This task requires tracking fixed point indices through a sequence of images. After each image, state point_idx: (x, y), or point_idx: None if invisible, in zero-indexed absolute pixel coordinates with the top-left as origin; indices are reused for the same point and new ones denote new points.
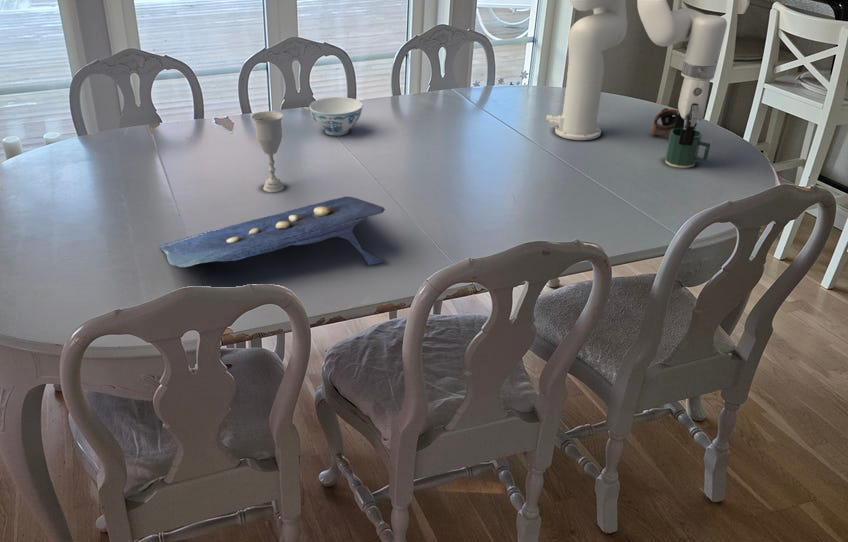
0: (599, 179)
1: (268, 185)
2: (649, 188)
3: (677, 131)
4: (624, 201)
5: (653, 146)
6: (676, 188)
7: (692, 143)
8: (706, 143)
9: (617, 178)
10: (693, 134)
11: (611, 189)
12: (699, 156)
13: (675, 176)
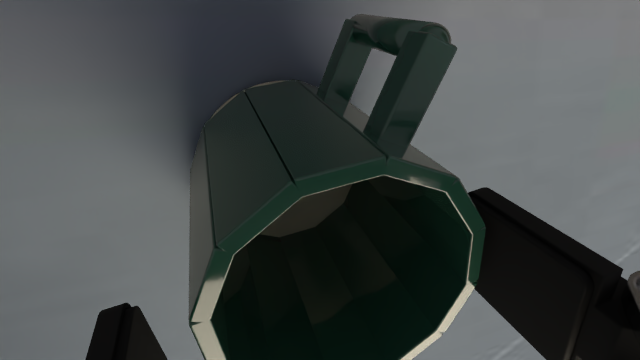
0: (495, 346)
1: None
2: (562, 219)
3: (251, 354)
4: (630, 253)
5: (55, 331)
6: (571, 136)
7: (492, 191)
8: (446, 69)
9: (487, 315)
10: (569, 247)
11: None
12: (336, 75)
13: (458, 157)
